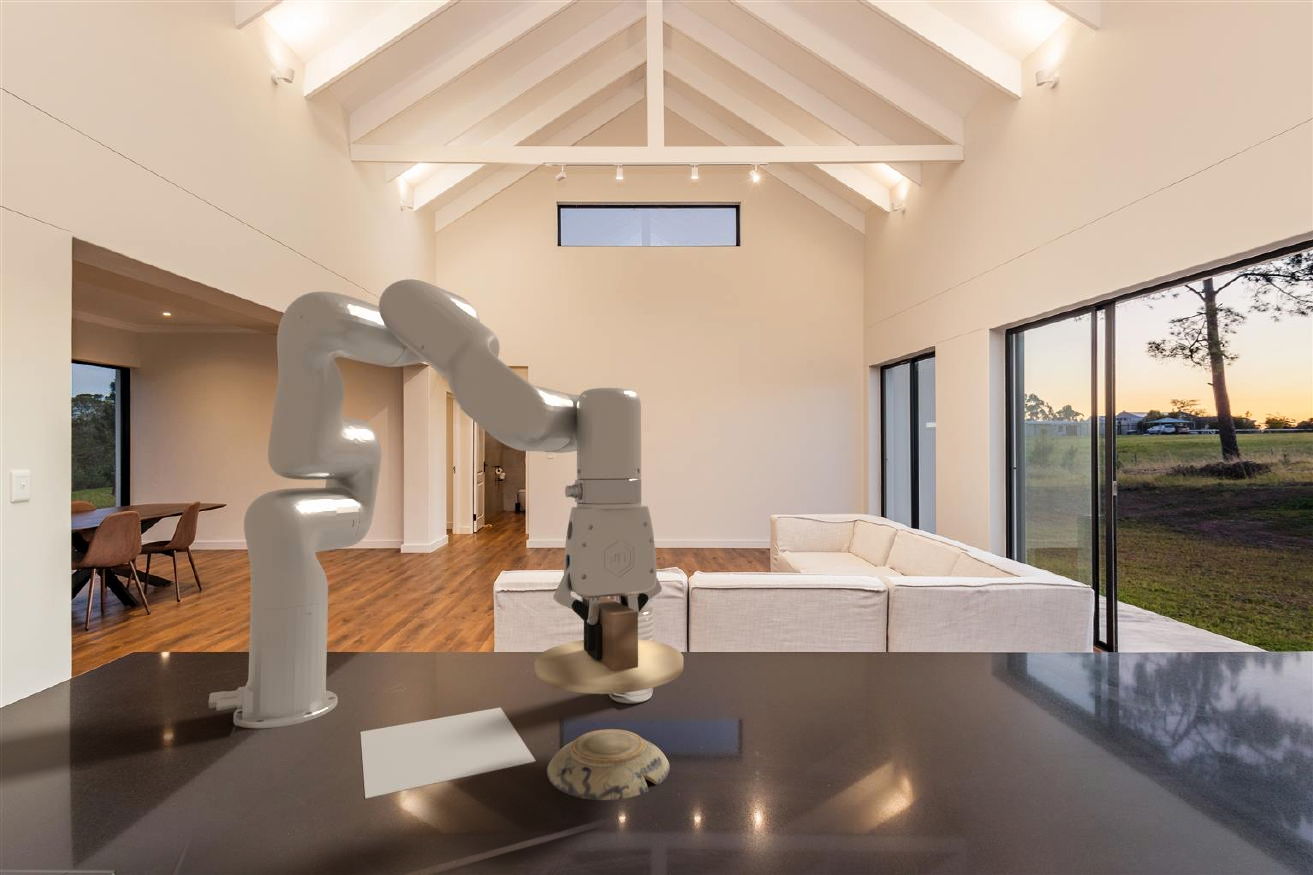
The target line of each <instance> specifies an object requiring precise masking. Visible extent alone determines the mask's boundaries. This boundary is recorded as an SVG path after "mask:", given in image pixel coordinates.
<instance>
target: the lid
mask: <svg viewBox="0 0 1313 875" xmlns="http://www.w3.org/2000/svg"><path fill="white" fill-rule="evenodd" d="M598 618H599V623H600V624H601V625H602V658H601V660H595V659H593V658H592V657H591V656H589V655H588V653H587V651H585V649H584V639H583V640H577V641H576V640H575V641H573V642H572V641H571V642H566V643H563V644H559V645H556V646H554V647H550V648H548V649H547V650H545V651H543V652H541V653H540V654H539V655H537V656H536V657H535V660H534V669H533V670H534V676H535V678H536V679H537V680H538V681H539V682H541V683H543V684H545V685H547V686H548V687H551V688H554V689H558V690H561V691H565V692H566V691H567V692H573V693H581V694H594V695H595V694H599V695H600V694H602V695H603V694H604V695H605V694H608V695H609V694H611V693H625V692H633V691H640V690H645V689H649V688H653V689H654V688H655V687H656V688H657V687H660V686H662V685H666V684H668V683H670V682H673V681H674V680H675V679H677V678H678V677H680V676H681V675H682V673H683V671H684V667H685V666H684V665H685V664H684V660H685V659H684V656H683V654H682V652H681V651H680V650H679V649H677V648H675V647H673V646H671V645H668V644H666V643H663V642H659V641H654V640H653V641H649V640H642V639H638V612H637V611H635V610H633V609H631V608H629V607H627V606H625V605H622V604H620V603H618V602H616V601H614V600H612V599H610V598H609V597H600V603H599V614H598Z"/></svg>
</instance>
